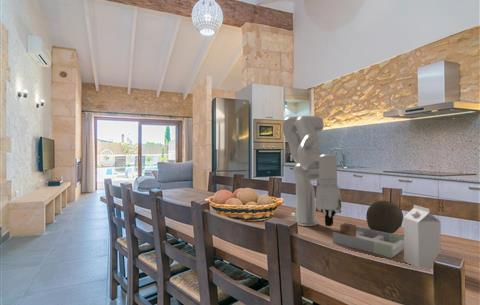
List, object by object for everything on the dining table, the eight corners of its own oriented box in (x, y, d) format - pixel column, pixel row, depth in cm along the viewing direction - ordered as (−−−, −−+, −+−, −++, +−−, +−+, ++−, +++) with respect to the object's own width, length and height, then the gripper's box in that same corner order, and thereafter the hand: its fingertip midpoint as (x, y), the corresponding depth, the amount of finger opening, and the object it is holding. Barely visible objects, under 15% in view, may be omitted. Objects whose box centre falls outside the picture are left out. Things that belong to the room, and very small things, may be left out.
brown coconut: (386, 241, 110) (386, 205, 110) (359, 232, 123) (359, 199, 123) (410, 237, 115) (410, 202, 116) (381, 228, 129) (381, 197, 129)
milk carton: (424, 261, 90) (424, 204, 90) (441, 270, 83) (440, 208, 83) (403, 261, 90) (403, 204, 90) (418, 271, 83) (418, 209, 83)
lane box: (332, 242, 110) (332, 232, 110) (351, 234, 120) (351, 225, 120) (391, 257, 93) (391, 246, 93) (406, 247, 104) (406, 236, 104)
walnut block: (340, 235, 110) (340, 224, 110) (345, 233, 113) (345, 222, 113) (351, 238, 107) (350, 227, 107) (356, 236, 110) (356, 225, 110)
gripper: (308, 182, 120) (309, 224, 119) (340, 184, 108) (341, 230, 108) (317, 181, 125) (318, 221, 124) (348, 183, 113) (350, 227, 113)
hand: (329, 225), depth 116 cm, fingers closed
